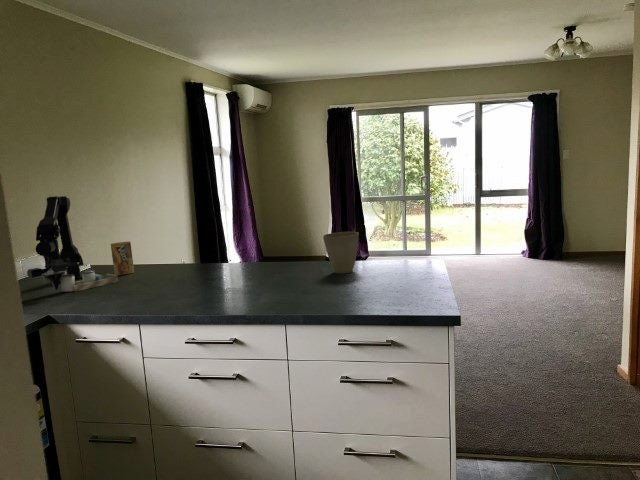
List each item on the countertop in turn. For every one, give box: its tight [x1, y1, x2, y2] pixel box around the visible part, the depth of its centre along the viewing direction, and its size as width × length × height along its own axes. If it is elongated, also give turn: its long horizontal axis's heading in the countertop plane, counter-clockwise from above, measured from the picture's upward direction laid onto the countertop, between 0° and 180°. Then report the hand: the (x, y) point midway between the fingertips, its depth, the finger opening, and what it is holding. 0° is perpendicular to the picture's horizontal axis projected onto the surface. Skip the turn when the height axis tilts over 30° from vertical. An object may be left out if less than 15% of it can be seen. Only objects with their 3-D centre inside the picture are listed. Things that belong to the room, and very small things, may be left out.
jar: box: [60, 273, 76, 293], centre depth 220 cm, size 5×5×7 cm
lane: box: [73, 273, 119, 292], centre depth 228 cm, size 19×9×3 cm, turn 138°
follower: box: [95, 273, 103, 281], centre depth 229 cm, size 1×6×4 cm, turn 48°
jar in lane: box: [81, 269, 96, 284], centre depth 227 cm, size 5×5×7 cm
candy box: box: [110, 240, 135, 276], centre depth 249 cm, size 9×4×15 cm, turn 116°
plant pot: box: [322, 231, 360, 274], centre depth 217 cm, size 15×15×16 cm
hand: (56, 289), depth 217 cm, fingers closed
